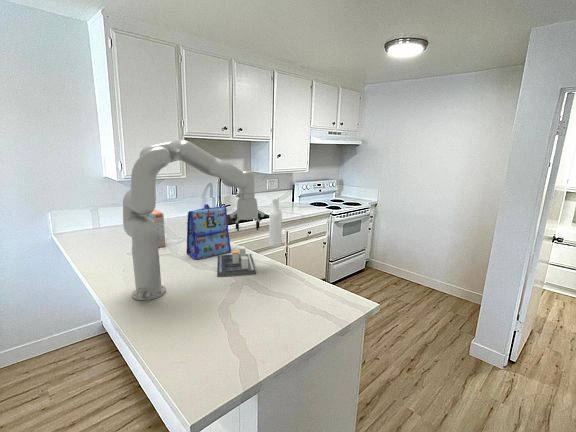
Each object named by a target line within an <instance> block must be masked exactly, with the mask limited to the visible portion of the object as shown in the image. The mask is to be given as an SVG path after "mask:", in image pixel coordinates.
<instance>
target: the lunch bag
mask: <svg viewBox="0 0 576 432" xmlns="http://www.w3.org/2000/svg"><path fill="white" fill-rule="evenodd" d="M203 206H204V207H203V208H198V209H195V210H189V211H188V212H187V222H186V223H187V224H186V225H187V226H186V252H185V253H186V254H187V255H189V256H191V257H192V258H193V259H194V260H195V261H196V260H200V259H201V260H202V259H205V258H210V257H214V256H215V257H216V256H221V255H226V254H228V253H229V254H230V253H232V248H231V239H230V233H229V221H228V210H227V207H226V206H224V205H223V206H216V207H215V206H213V207H210V206H209V204H207V203H205V204H204V205H203Z"/></svg>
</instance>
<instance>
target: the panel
mask: <svg viewBox="0 0 576 432" xmlns="http://www.w3.org/2000/svg"><path fill="white" fill-rule="evenodd" d="M246 256H247V257H248V269H242V267H241V258H240V255H239V263H236V264H233V261H232V254H220V255H217V265H216V266H217V267H216V268H217V270H216V272H217V273H216V277H217V278H219V277H221V278H222V277H232V276H233V277H234V276H248V275H256V274H257V268H256V266H255V262H254V258H253V255H252V253H246Z"/></svg>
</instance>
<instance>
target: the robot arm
mask: <svg viewBox="0 0 576 432" xmlns="http://www.w3.org/2000/svg"><path fill="white" fill-rule="evenodd" d="M176 161H181V162H183V163H185V164H186V165H188V166H191V167H192V168H193V169H196V170H197V171H199V172H201V173H203V174H205V175H208V176H211V177H215V178H218V179H221V183H223V185H224V186H226V187H229V188H236V189H238V193H236V194H235V197H236V198H238V199H237V202H236V203H237V204H236V210H235V211H232V212H231V213H230V214H229V217H230V218H231V220H232V221H233V222H234V224H235V230H237V232H239V231H240V223H239V221H247V220H250V221H251V220H255V227H256V228H255V229H256V231H259V228H260V222H261V221H262V220H263V219H264V216H265V215H266V213H265V212H263V211H261V210H259V209H258V203H257V202H258V201H257V198H255V195H256V193H255V172H254V171H252V170H241V169H239V168H238V167H236V166H234V165H232V164H230V163H228V162H227V161H224V160H222V159H220V158H219V157H216V156H214V155H212V154H211V153H209V152H207V151H205V150H204V149H202V148H201V147H199V145H198V146H197V145H196V144H195V143H194V142H191V141H188V140H184V139H178V140H172V141H168V142H167V141H166V142H162V143H158V144H153V145H148V146H145V147H144V148H142V150H141V151H140V153H139V157H138V159H137V160H136V161H135V162H134V164H133V166H132V170H131V175H130V177H131V178H130V189H129V190H128V191H126V193H124V196H123V200H122V222H123V223H122V224H123V230H124V232H125V233H126V235H127V236H129V237H130V238H131V241H132V242H131V256H132V263H133V264H132V265H133V273H134V274H133V275H134V284H135V289H134V290H133V291H132V292H131V293H132V294H131V297H132V299H133V300H137V301H152V300H155V299H157V298H160V297H161V296H163V295H164V294H165V293H166V292H167V291H166V290H167V289H166V286H164V285H162V276H161V265H160V253H159V248H158V239H159V230H158V227H157V225H156V224H155V223H154V222H153V221H152V220H150V219H148V214H150V213H152V212H153V210H156V209H155V208H156V204H157V203H156V202H157V200H156V199H157V197H156V182H157V176H158V174H159V172H160V171H161V170H162V169H164V168H165V167H167V166H168V165H169V164H170V163H173V162H176ZM259 214H260V216H259ZM235 215H236V218H235V217H234V216H235Z"/></svg>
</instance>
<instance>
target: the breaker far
mask: <svg viewBox="0 0 576 432" xmlns="http://www.w3.org/2000/svg"><path fill="white" fill-rule="evenodd" d="M238 248H239V249H238V252H239V255H240V258H241V256H246V254H247V253H246V246H243V245H242V246H241V245H240V246H239V247H238Z"/></svg>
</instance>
